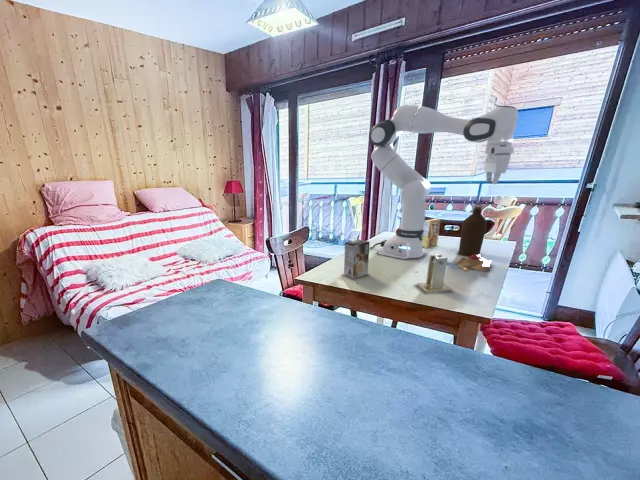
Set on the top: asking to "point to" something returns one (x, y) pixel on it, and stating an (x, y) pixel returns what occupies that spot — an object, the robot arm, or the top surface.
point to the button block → (475, 263)
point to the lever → (454, 265)
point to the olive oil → (472, 233)
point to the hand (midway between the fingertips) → (491, 183)
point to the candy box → (431, 232)
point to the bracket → (435, 275)
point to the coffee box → (356, 258)
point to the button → (476, 256)
